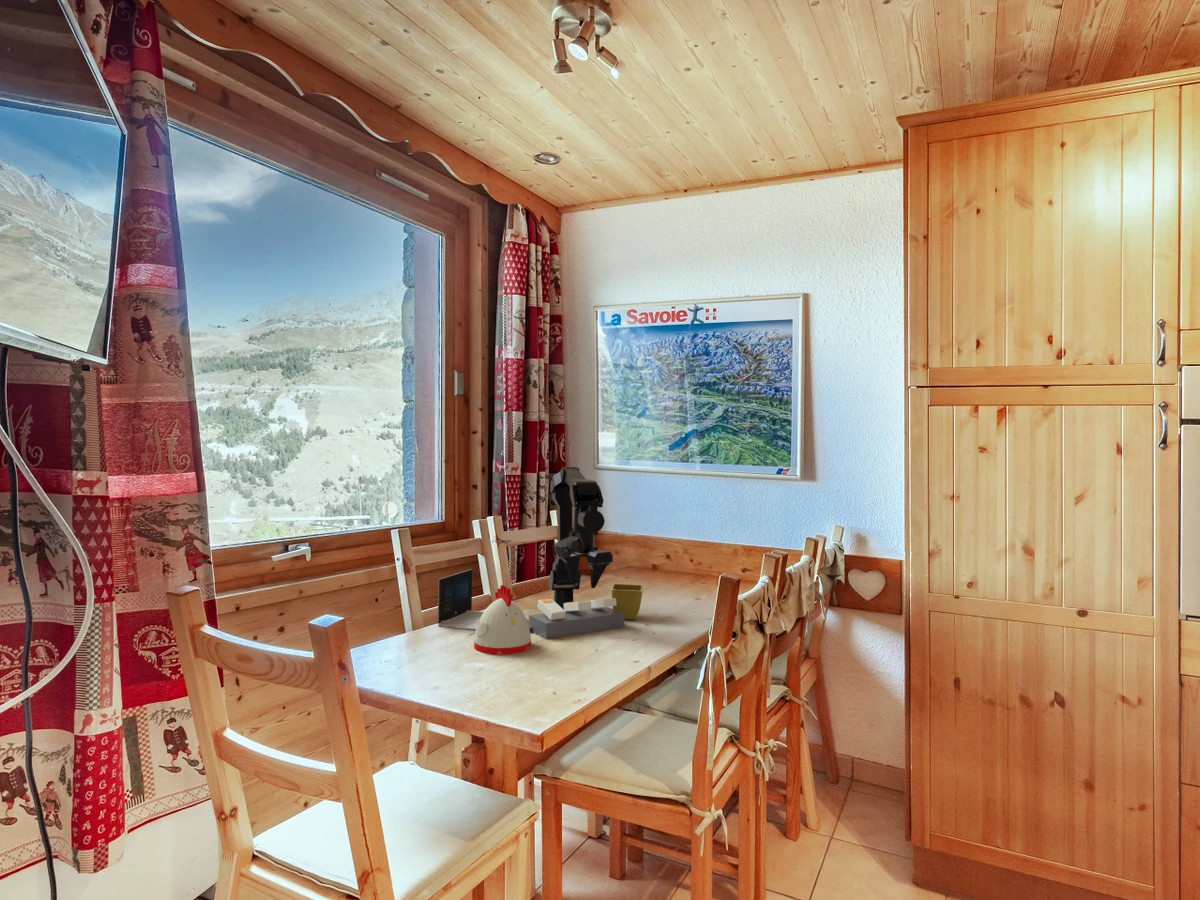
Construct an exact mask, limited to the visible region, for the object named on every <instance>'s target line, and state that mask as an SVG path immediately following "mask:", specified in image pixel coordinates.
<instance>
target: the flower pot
mask: <svg viewBox="0 0 1200 900" xmlns="http://www.w3.org/2000/svg"><path fill="white" fill-rule="evenodd" d="M643 589H644V585H643V584H630V583H613V584H612V587H611V598H616V604H617V606H612V609H614V610H617V611H620V612H623V613H624V620H631V621H635V620H636V619H637V616H638V615H639V612H640V609H641V604H642V597H643Z"/></svg>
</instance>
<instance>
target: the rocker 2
mask: <svg viewBox="0 0 1200 900" xmlns="http://www.w3.org/2000/svg"><path fill="white" fill-rule="evenodd" d="M584 609H592V608H591V601H589V600H587V601H586V600H585V601H573V602H568V603H564V611H573V610H584Z"/></svg>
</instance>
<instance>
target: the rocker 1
mask: <svg viewBox="0 0 1200 900" xmlns="http://www.w3.org/2000/svg"><path fill="white" fill-rule="evenodd" d="M536 606H537V608H538V609H539V610H540V611H541V612H542V614H543V613H544V614H545V615H546V616H547V617H548V618H549V619H550V620H556V619H563V618H565V611H564V610H563V609H562V608H561V607H560V606H559V605H558V604H557V603H556V602H555V601H554V599H553V598H546V599H545V598H544V599H538V600H537V605H536Z"/></svg>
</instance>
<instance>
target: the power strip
mask: <svg viewBox="0 0 1200 900" xmlns="http://www.w3.org/2000/svg"><path fill="white" fill-rule="evenodd" d="M528 617H529V620H530V629H529V631H530V633H534V634H536V635H538V636H539V637H541V638H543V639H545V640H549V639H555V638H562V637H569V636H575V635H577V636H578V635H582V634H590V633H598V632H604V631H612V630H618V629H624V628H625V619H624V613H623V612H620V611H617V610H614V609H613V607H610V606H609V607H596V608H592V609H584V610H573V611H565V618H563V619H556V620H550V619H549V618H548V617H547V616H546V615H545V614H544V613H543V612H542V613H536V614H528Z"/></svg>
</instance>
